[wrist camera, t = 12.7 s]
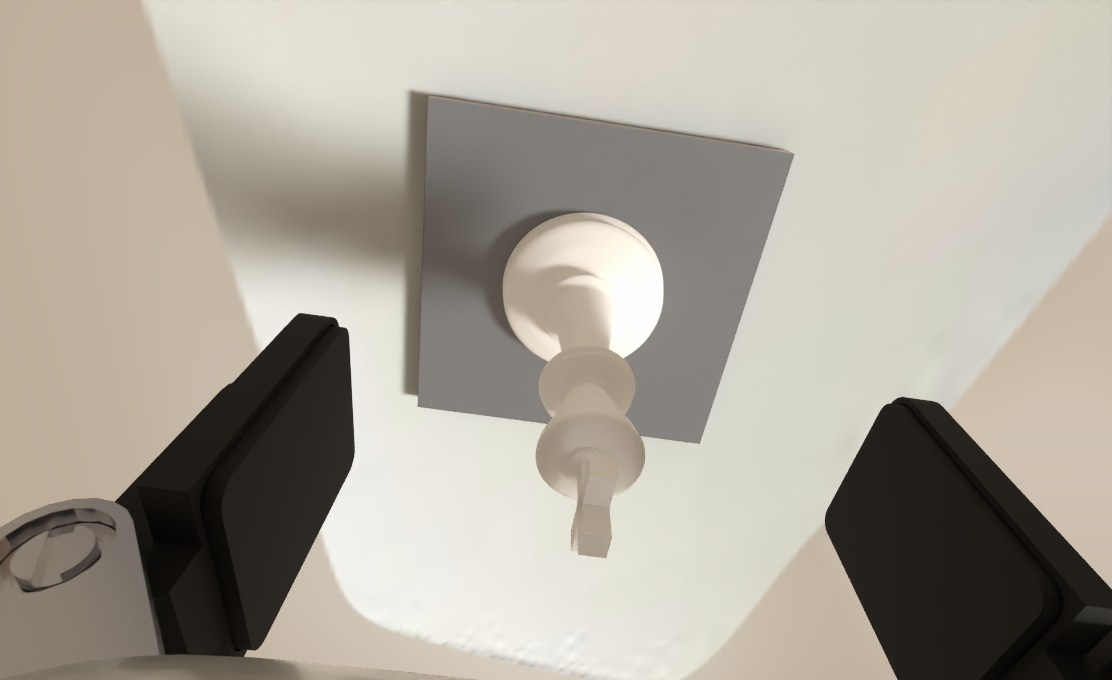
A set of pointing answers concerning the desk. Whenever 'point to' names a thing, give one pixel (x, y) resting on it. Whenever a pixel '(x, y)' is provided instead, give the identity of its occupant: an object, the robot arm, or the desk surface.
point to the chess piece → (585, 355)
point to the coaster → (593, 187)
